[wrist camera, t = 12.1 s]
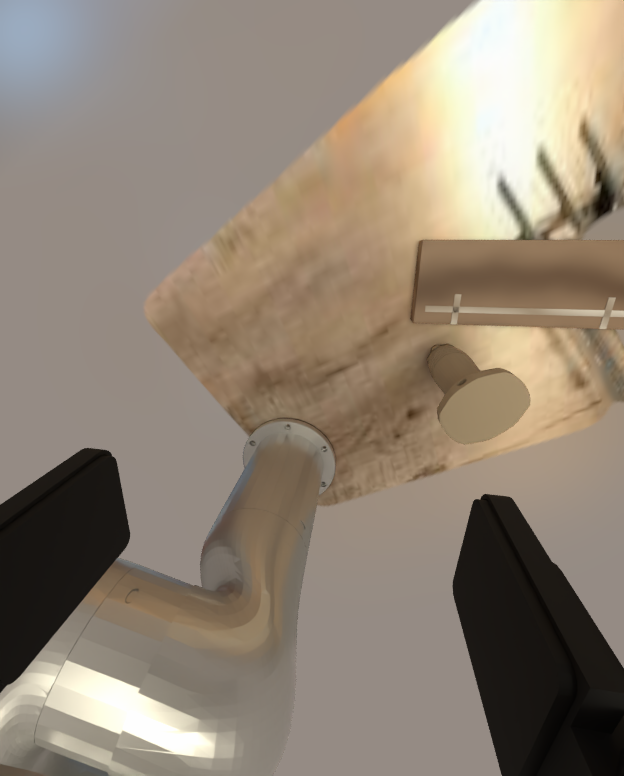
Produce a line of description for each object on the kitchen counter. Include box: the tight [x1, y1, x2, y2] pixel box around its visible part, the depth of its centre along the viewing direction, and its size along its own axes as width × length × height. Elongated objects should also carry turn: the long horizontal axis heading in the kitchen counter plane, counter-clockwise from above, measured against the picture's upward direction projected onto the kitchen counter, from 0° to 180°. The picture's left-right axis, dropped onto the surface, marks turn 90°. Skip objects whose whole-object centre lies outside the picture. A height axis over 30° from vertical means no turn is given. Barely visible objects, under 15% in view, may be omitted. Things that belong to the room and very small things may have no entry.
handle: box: [427, 344, 530, 445], centre depth 32 cm, size 5×6×15 cm
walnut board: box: [411, 240, 624, 329], centre depth 34 cm, size 8×22×3 cm, turn 89°
